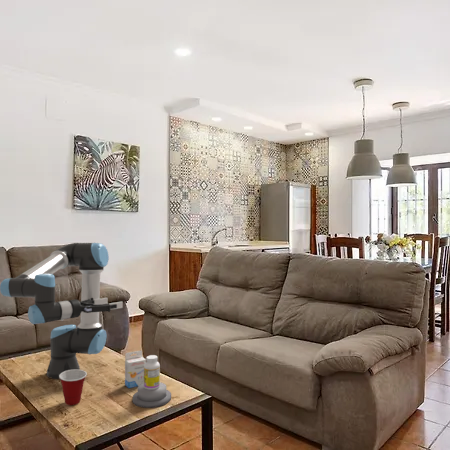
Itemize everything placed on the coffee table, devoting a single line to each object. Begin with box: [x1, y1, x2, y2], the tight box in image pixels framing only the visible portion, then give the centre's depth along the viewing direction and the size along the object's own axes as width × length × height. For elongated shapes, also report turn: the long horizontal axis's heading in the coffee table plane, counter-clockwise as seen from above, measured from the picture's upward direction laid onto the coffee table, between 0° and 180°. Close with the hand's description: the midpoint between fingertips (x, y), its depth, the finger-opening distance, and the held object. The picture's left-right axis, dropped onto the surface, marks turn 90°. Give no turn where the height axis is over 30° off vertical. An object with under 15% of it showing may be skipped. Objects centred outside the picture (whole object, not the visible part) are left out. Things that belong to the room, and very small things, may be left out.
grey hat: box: [132, 381, 172, 409], centre depth 168 cm, size 16×16×5 cm
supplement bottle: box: [144, 354, 161, 390], centre depth 168 cm, size 7×7×13 cm
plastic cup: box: [59, 369, 88, 406], centre depth 165 cm, size 11×11×12 cm
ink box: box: [124, 350, 147, 389], centre depth 183 cm, size 8×5×15 cm, turn 123°
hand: (114, 302), depth 183 cm, fingers open, 13 cm apart
